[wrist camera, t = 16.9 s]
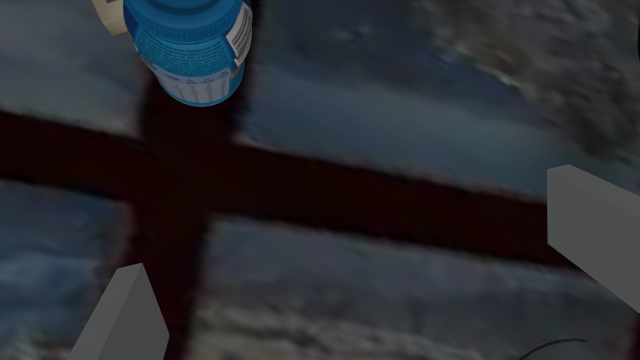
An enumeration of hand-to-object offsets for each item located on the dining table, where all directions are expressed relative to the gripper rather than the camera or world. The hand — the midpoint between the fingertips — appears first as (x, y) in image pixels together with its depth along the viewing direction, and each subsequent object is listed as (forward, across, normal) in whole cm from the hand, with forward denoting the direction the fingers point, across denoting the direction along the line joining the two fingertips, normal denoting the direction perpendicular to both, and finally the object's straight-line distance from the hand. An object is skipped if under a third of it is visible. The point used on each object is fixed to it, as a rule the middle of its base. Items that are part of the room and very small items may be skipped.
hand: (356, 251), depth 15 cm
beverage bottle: (+33, +8, -4) cm, 34 cm away
